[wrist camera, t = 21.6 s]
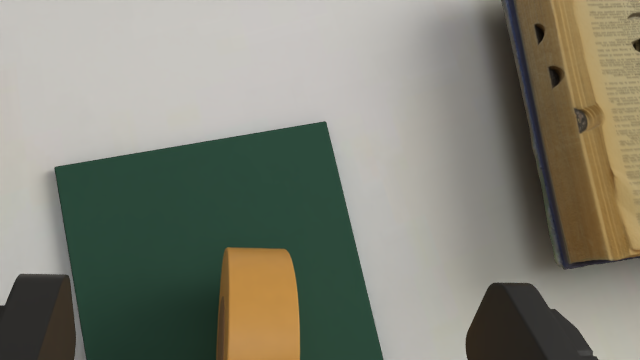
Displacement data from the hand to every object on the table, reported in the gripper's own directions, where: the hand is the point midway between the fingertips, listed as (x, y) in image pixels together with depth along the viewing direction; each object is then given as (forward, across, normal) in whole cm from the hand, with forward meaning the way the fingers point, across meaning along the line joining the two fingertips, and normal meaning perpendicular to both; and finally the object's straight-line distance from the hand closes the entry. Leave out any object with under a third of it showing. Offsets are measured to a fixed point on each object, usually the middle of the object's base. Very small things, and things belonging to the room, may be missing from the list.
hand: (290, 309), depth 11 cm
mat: (+10, -1, +13) cm, 16 cm away
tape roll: (+9, -1, +13) cm, 16 cm away
